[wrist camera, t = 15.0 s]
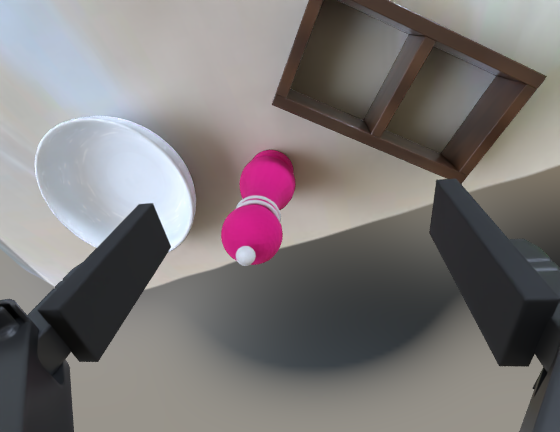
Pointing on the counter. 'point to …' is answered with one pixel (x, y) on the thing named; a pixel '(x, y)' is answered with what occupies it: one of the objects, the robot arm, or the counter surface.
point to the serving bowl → (112, 177)
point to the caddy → (422, 37)
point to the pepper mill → (259, 209)
